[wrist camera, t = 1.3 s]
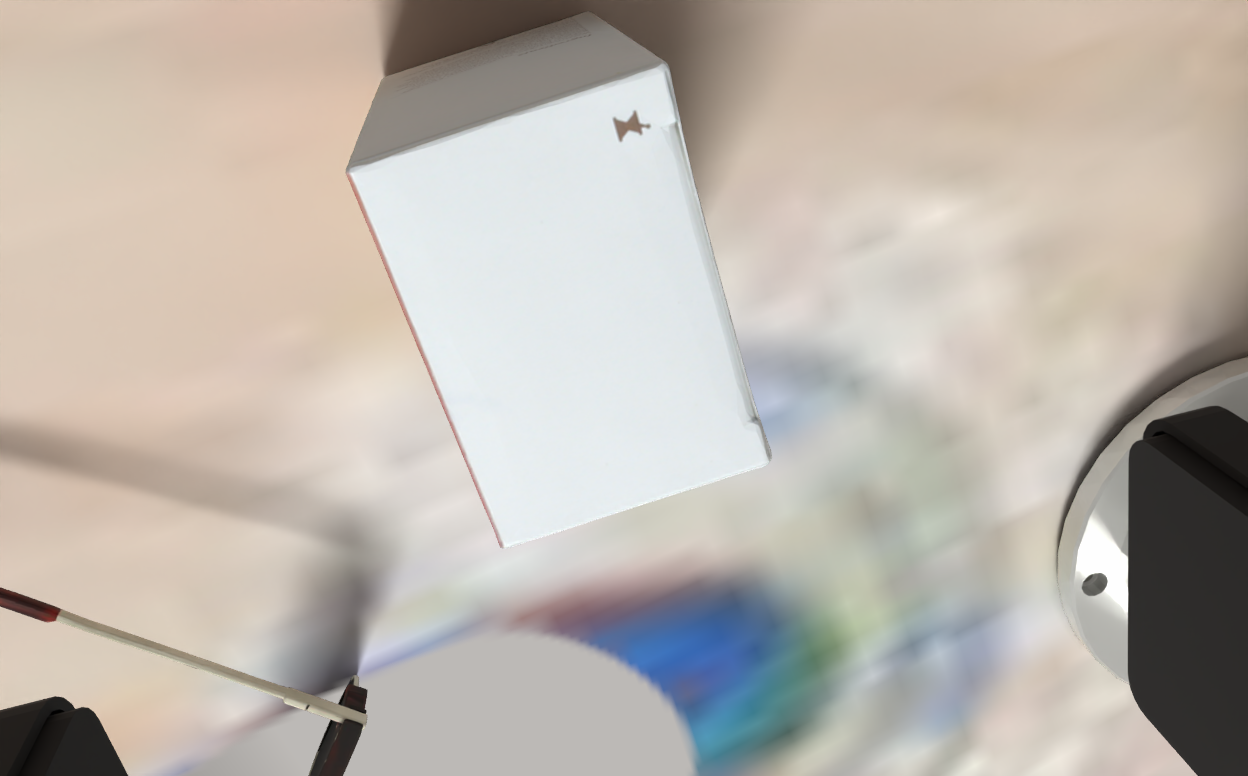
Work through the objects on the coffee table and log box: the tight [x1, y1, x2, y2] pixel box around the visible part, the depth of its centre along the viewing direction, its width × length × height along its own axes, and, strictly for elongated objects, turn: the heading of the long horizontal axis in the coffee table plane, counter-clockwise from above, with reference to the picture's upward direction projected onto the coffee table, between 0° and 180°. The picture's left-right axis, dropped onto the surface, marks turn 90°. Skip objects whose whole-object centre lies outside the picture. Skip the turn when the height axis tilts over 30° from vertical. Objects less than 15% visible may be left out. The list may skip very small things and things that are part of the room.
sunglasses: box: [0, 588, 367, 776], centre depth 31 cm, size 14×16×5 cm
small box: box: [346, 11, 772, 549], centre depth 23 cm, size 8×6×10 cm
